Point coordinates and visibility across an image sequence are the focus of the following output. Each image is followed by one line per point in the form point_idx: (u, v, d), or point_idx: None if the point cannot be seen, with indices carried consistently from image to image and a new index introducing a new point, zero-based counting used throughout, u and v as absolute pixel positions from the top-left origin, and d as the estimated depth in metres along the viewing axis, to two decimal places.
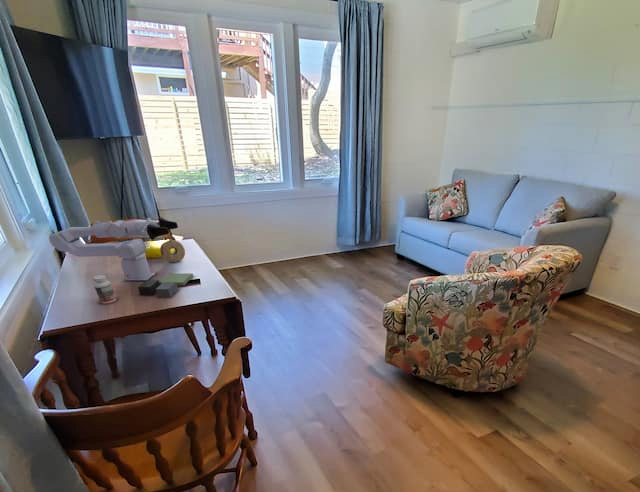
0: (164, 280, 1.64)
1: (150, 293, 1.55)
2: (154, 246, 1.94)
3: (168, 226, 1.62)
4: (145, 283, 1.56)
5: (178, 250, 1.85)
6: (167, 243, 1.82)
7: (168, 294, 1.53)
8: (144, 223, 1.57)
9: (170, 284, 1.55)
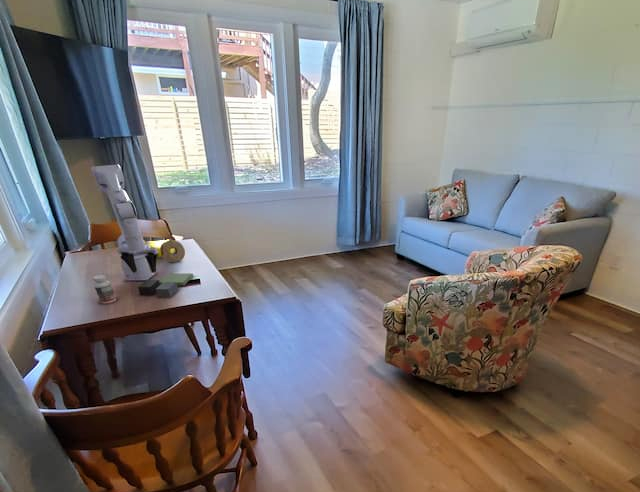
0: (164, 280, 1.64)
1: (150, 293, 1.55)
2: (154, 246, 1.94)
3: None
4: (145, 283, 1.56)
5: (178, 250, 1.85)
6: (167, 243, 1.82)
7: (168, 294, 1.53)
8: (129, 247, 1.46)
9: (170, 284, 1.55)
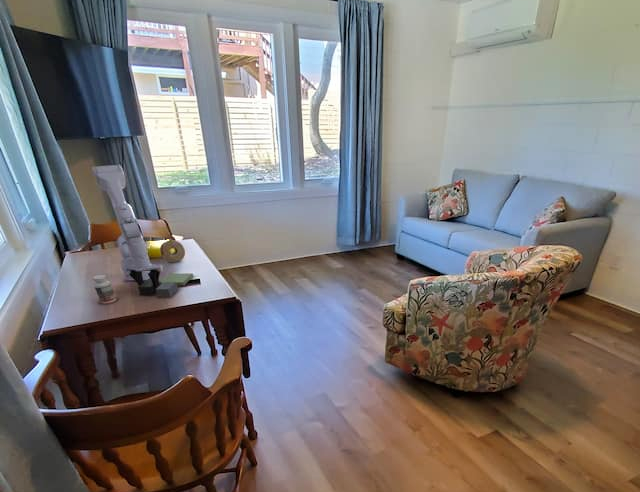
0: (164, 280, 1.64)
1: (150, 293, 1.55)
2: (154, 246, 1.94)
3: None
4: (145, 283, 1.56)
5: (178, 250, 1.85)
6: (167, 243, 1.82)
7: (168, 294, 1.53)
8: (135, 265, 1.50)
9: (170, 284, 1.55)
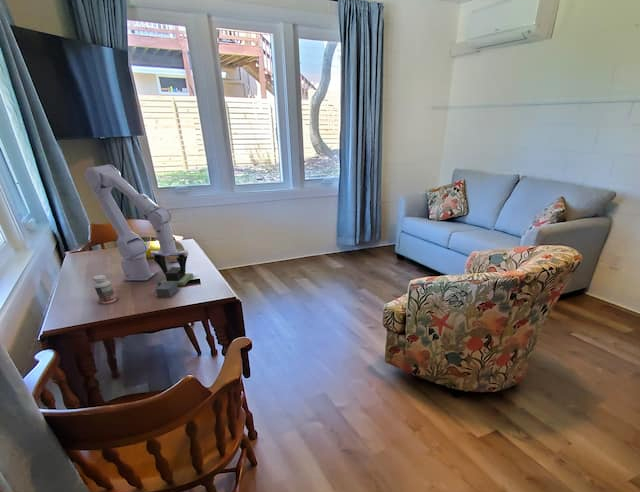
0: (164, 280, 1.64)
1: (176, 279, 1.63)
2: (154, 246, 1.94)
3: None
4: (171, 270, 1.65)
5: None
6: None
7: (168, 294, 1.53)
8: (162, 250, 1.58)
9: (170, 284, 1.55)
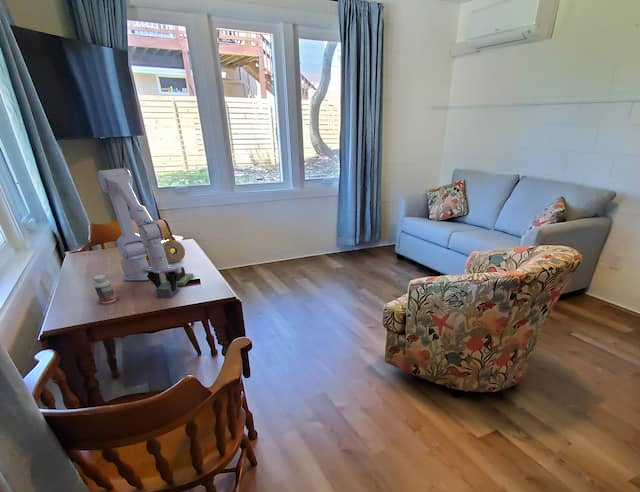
0: (164, 280, 1.64)
1: (176, 279, 1.63)
2: None
3: None
4: None
5: (178, 250, 1.85)
6: (167, 243, 1.82)
7: (168, 294, 1.53)
8: (153, 267, 1.48)
9: None
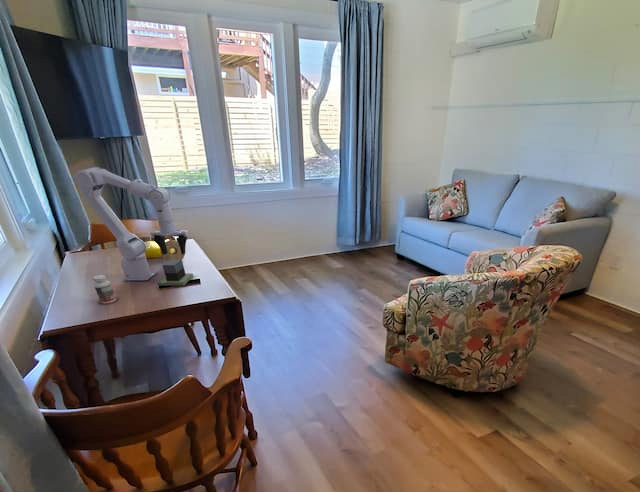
0: (164, 280, 1.64)
1: (176, 279, 1.63)
2: (154, 246, 1.94)
3: None
4: None
5: (178, 250, 1.85)
6: (167, 243, 1.82)
7: (174, 270, 1.61)
8: (161, 230, 1.58)
9: (176, 261, 1.64)
